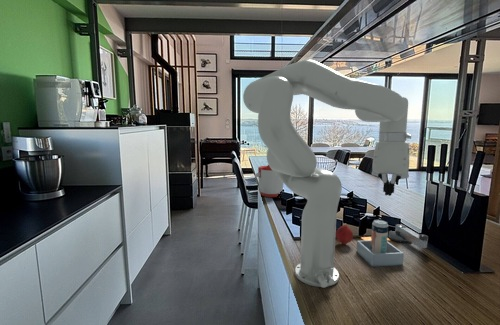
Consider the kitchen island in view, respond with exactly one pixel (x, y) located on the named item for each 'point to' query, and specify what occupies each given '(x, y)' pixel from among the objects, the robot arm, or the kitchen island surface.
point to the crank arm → (412, 236)
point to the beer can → (379, 237)
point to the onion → (344, 234)
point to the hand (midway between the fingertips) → (388, 194)
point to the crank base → (391, 237)
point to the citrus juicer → (269, 182)
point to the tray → (380, 254)
